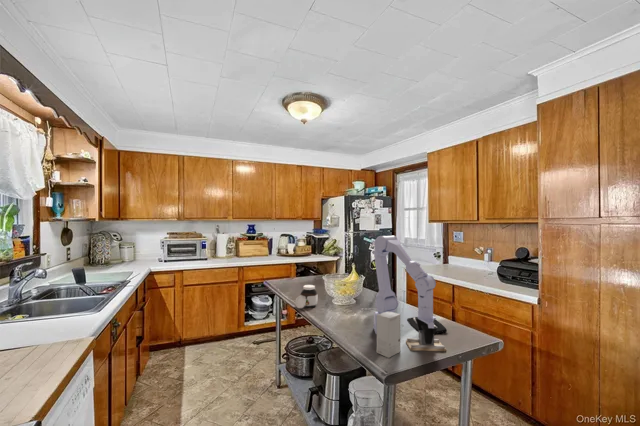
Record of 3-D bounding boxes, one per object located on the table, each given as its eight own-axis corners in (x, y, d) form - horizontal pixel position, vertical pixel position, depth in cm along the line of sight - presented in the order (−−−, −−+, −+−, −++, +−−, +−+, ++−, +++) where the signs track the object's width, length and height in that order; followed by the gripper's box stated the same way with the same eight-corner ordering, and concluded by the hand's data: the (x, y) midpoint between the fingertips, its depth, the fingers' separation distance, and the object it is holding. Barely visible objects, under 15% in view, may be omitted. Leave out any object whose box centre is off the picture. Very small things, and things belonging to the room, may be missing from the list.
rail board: (410, 350, 115) (410, 345, 115) (405, 342, 122) (405, 338, 122) (446, 351, 114) (446, 346, 114) (439, 343, 122) (439, 339, 122)
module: (421, 346, 116) (421, 332, 116) (418, 342, 120) (418, 328, 120) (434, 347, 116) (434, 332, 116) (430, 342, 120) (430, 328, 120)
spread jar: (318, 304, 174) (318, 285, 174) (314, 310, 163) (314, 289, 163) (299, 303, 177) (299, 284, 177) (293, 308, 166) (293, 288, 166)
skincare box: (388, 358, 108) (389, 318, 108) (375, 352, 112) (375, 314, 113) (401, 351, 114) (401, 313, 114) (388, 346, 118) (388, 309, 118)
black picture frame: (404, 316, 150) (430, 313, 151) (405, 321, 150) (431, 318, 151) (419, 331, 131) (449, 327, 131) (419, 337, 131) (450, 334, 131)
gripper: (442, 312, 111) (442, 347, 111) (429, 301, 126) (429, 332, 125) (423, 311, 111) (423, 347, 111) (413, 300, 126) (412, 332, 126)
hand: (425, 339), depth 118 cm, fingers open, 7 cm apart
